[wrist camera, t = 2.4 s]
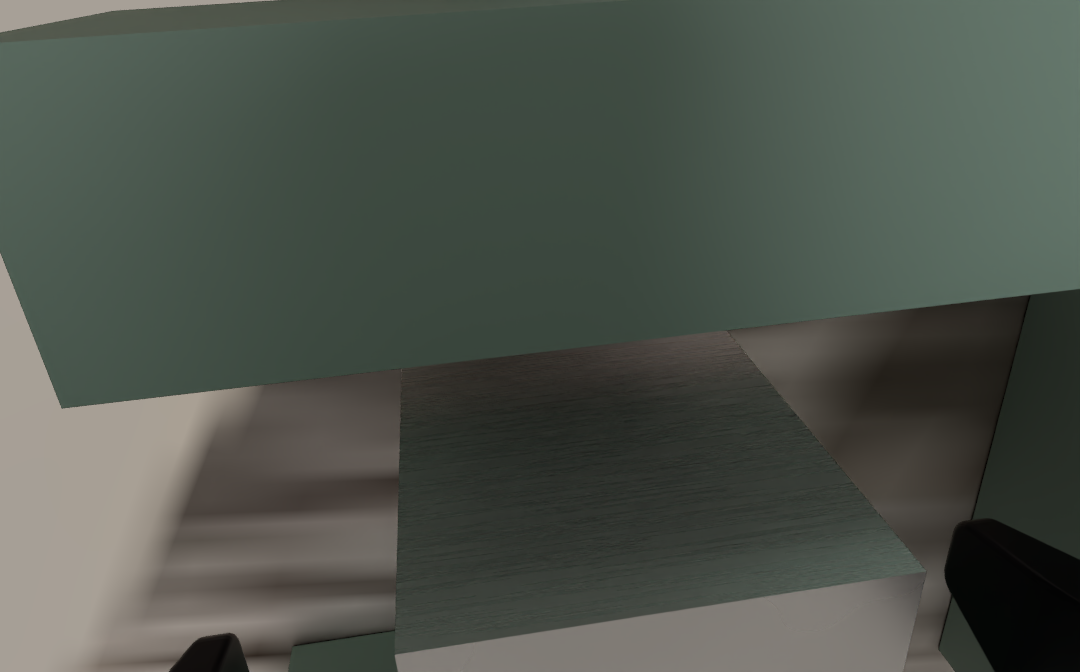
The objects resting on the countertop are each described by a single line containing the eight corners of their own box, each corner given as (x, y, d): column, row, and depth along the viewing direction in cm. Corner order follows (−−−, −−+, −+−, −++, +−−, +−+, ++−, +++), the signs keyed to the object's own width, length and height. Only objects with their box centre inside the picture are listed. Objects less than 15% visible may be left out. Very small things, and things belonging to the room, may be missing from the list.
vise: (1327, -291, 9) (1875, -437, 6) (1024, 634, 17) (1188, 818, 13) (39, -256, 8) (-268, -427, 4) (322, 754, 15) (295, 1000, 12)
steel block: (696, 294, 12) (925, 571, 7) (686, 521, 14) (855, 873, 9) (403, 326, 11) (394, 653, 6) (437, 557, 13) (453, 953, 8)
